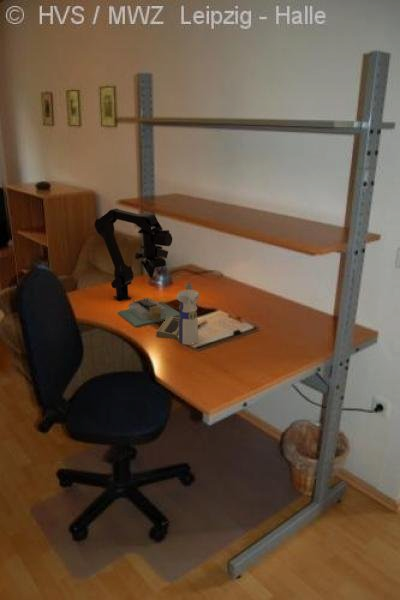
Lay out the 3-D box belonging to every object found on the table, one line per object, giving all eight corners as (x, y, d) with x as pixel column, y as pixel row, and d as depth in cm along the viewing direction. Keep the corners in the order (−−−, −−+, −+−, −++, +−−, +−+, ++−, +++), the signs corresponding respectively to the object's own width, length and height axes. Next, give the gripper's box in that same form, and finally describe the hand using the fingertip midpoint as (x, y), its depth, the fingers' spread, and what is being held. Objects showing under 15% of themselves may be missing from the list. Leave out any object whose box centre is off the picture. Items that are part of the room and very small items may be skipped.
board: (117, 313, 206) (117, 311, 206) (161, 303, 217) (161, 301, 217) (135, 327, 192) (135, 325, 192) (181, 316, 203) (181, 314, 203)
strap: (137, 302, 206) (137, 300, 206) (143, 301, 208) (143, 299, 208) (150, 307, 197) (150, 306, 196) (156, 306, 198) (156, 304, 198)
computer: (176, 339, 182) (176, 332, 181) (156, 338, 184) (155, 330, 183) (185, 324, 197) (185, 316, 196) (167, 322, 198) (166, 315, 197)
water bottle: (204, 341, 180) (204, 279, 171) (185, 346, 175) (184, 283, 167) (193, 333, 186) (192, 273, 177) (174, 338, 182) (172, 277, 173)
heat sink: (129, 311, 206) (128, 299, 204) (151, 306, 212) (150, 294, 210) (144, 322, 194) (144, 310, 192) (168, 316, 200) (167, 304, 198)
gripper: (176, 245, 203) (176, 279, 209) (155, 237, 218) (156, 269, 224) (153, 249, 198) (154, 284, 203) (133, 240, 212) (135, 273, 218)
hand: (150, 277), depth 212 cm, fingers closed
